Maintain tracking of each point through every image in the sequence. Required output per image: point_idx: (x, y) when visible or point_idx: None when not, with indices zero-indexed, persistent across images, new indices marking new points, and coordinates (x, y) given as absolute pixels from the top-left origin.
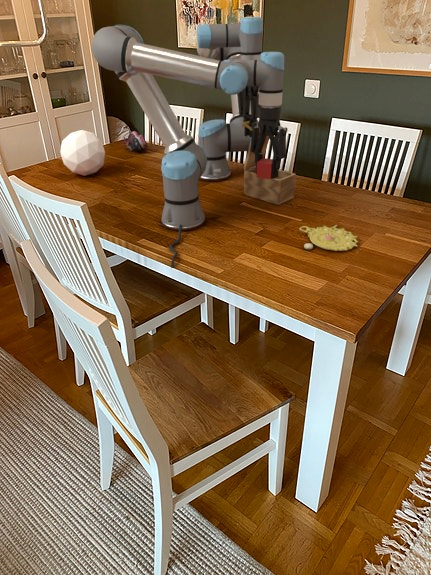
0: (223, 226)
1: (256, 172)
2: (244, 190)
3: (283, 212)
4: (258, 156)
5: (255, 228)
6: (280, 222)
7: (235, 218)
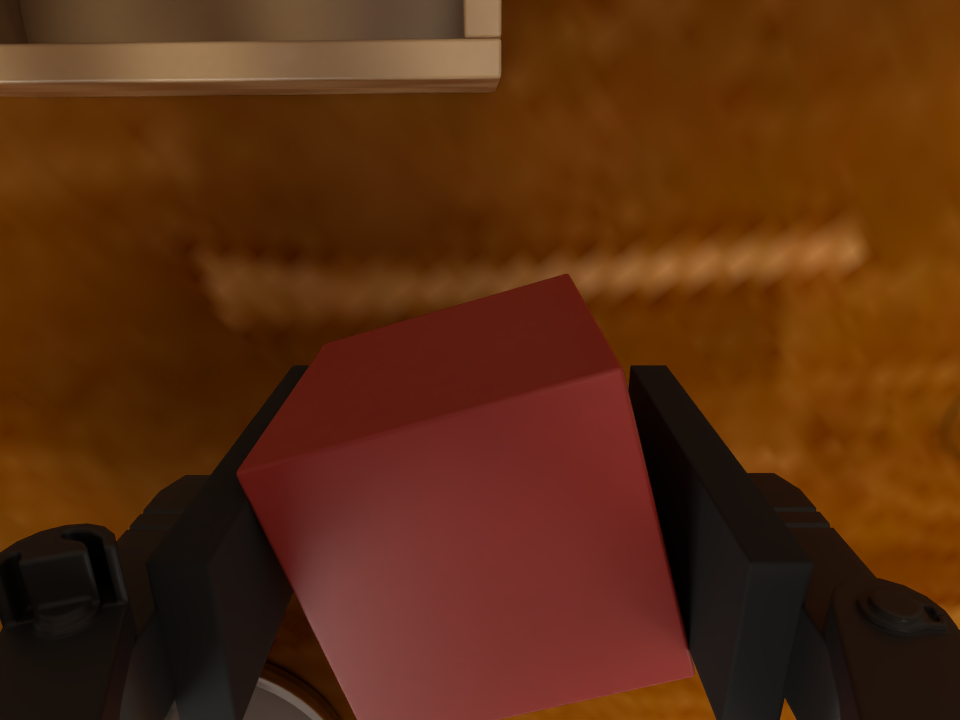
0: None
1: None
2: (9, 95)
3: (637, 204)
4: (243, 699)
5: None
6: (728, 383)
7: None
